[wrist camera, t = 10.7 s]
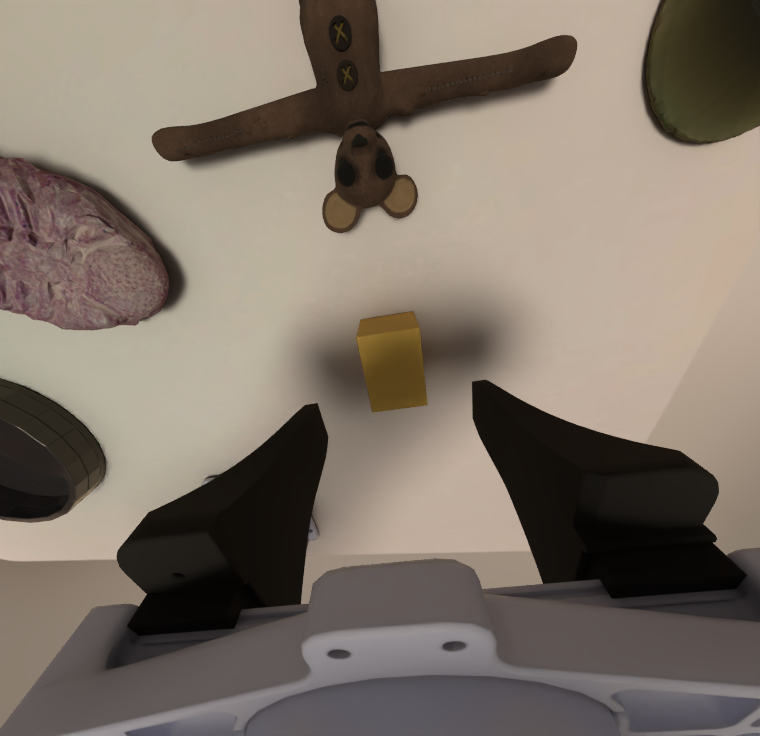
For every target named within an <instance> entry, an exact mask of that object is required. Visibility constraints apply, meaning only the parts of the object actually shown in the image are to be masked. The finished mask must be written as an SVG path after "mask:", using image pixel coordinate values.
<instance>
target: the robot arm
mask: <svg viewBox="0 0 760 736" xmlns="http://www.w3.org/2000/svg"><path fill="white" fill-rule="evenodd" d="M472 403H473V420H474V423H475V426H476V429H477V431H478V434H479V436H480V438H481V440H482V442H483V444H484V446H485V448H486V450H487V452H488V454H489V455H490V457H491V459H492V461H493V463H494V465H495V467H496V468H497V470H498V472H499V474H500V476H501V478H502V480H503V482H504V484H505V486H506V488H507V490H508V493H509V495H510V497H511V500H512V502H513V505H514V507H515V510H516V512H517V515H518V517H519V520H520V522H521V525H522V527H523V530H524V532H525V535H526V538H527V540H528V543H529V546H530V549H531V551H532V554H533V557H534V559H535V562H536V565H537V568H538V571H539V573H540V576H541V579H542V582H543V584H538V585H526V586H514V587H502V588H491V589H482V588H481V584H480V581H479V578H478V577H477V575H476V573H475V571H474V570H473V569H472V568H471V567H469V566H467V565H465V564H463V563H461V562H458V561H456V560H451V559H424V560H414V561H404V562H393V563H382V564H371V565H360V566H350V567H342V568H338V569H335V570H331V571H328V572H326V573H325V574H323V575H322V576H321V577H320V578H319V579H318V580H317V581H315V582H314V583H313V586H312V591H311V596H310V601H309V604H301V595H302V584H303V575H304V566H305V557H306V550H307V545H308V541H309V540H316V539H318V536H319V533H318V530H317V528H316V526H315V523H314V521H313V519H312V516H311V515H312V509H313V505H314V500H315V496H316V493H317V489H318V485H319V481H320V478H321V474H322V470H323V466H324V462H325V458H326V453H327V445H328V434H327V431H326V428H325V425H324V422H323V419H322V416H321V412H320V409H319V406H318V403H316V404H309V405H305V406H303V407H302V408H301V409H300V410H299V411H298V412H297V413H296V414H295V415H294V416H293V417H292V418H291V419H290V420H289V421H287V422H286V423H285V424H284V425H283V426H282V427H281V428H280V429H279V430H278V431H277V432H276V433H275V434H274V435H272V436H271V437H270V438H269V439H268V440H267V441H266V442H265V443H263V444H262V445H261V446H260V447H259V448H257V449H256V450H255V451H254V452H252V453H251V454H250V455H248V456H247V457H246V458H244V459H243V460H242V461H240V462H239V463H238V464H236V465H235V466H233V467H231V468H230V469H228V470H227V471H225V472H224V473H222V474H221V475H219V476H218V477H213V478H206V479H205V480H204V481H203V483H202V486H201V487H199V488H197V489H195V490H193V491H192V492H190V493H188V494H186V495H184V496H182V497H180V498H178V499H176V500H174V501H172V502H170V503H168V504H165V505H163V506H161V507H159V508H157V509H155V510H153V511H151V512H149V513H148V514H147V515H146V516H145V518H144V519H143V520H142V521H141V523H140V524H139V525H138V526H137V527H136V529H135V530H134V531H133V532H132V534H131V535H130V536H129V537H128V539H127V540H126V541H125V542H124V543H123V545H122V546H121V547H120V548H119V550H118V552H117V561H118V563H119V567H120V568H121V569H122V570H123V571H124V572H125V574H126V575H127V576H128V577H130V578H131V579H132V580H133V581H134V582H135V583H136V584H137V585H138V586H139V587H140V588H141V589H142V590H143V591H144V592H145V593H147V595H146V597H145V598H144V600H143V602H142V603H141V605H140V606H136V605H133V604H119V605H107V606H97V607H95V608H93V609H92V610H91V611H90V612H89V614H88V615H87V616H86V617H85V619H84V620H83V621H82V623H81V624H80V625H79V627H78V628H77V629H76V631H75V632H74V633H73V634H72V636H71V637H70V638H69V640H68V641H67V642H66V644H65V645H64V646H63V648H62V649H61V650H60V651H59V653H58V654H57V655H56V657H55V658H54V659H53V661H52V662H51V663H50V664H49V666H48V667H47V668H46V670H45V671H44V672H43V674H42V675H41V676H40V678H39V679H38V680H37V682H36V683H35V684H34V686H33V687H32V688H31V689H30V691H29V692H28V693H27V695H26V696H25V697H24V699H23V700H22V701H21V702H20V704H19V705H18V706H17V708H16V709H15V710H14V711H13V713H12V714H11V715H10V717H9V718H8V719H7V721H6V722H5V723H4V725H3V726H2V727H1V728H0V736H760V548H750V549H741V550H736V551H734V552H732V553H729V554H728V555H725V554H724V553H723V552H722V551H721V550H720V549H719V548H718V547H717V546H715V545H714V544H713V543H712V542H716V540H717V538H716V536H715V534H713V533H712V532H711V531H710V530H709V529H708V528H707V527H706V526H705V525H703V523H704V521H705V519H706V517H707V516H708V514H709V512H710V511H711V509H712V507H713V505H714V504H715V501H716V499H717V496H718V494H719V487H718V481H717V480H716V478H715V477H714V476H713V475H712V474H711V473H709V472H708V471H707V470H705V469H704V468H703V467H701V466H700V465H699V464H697V463H696V462H694V461H693V460H692V459H690V458H689V457H688V456H686V455H685V454H684V453H682V452H681V451H677V450H673V449H668V448H663V447H658V446H653V445H648V444H643V443H638V442H634V441H630V440H626V439H622V438H618V437H615V436H611V435H607V434H604V433H600V432H597V431H594V430H591V429H588V428H585V427H582V426H579V425H576V424H573V423H570V422H568V421H565V420H563V419H560V418H558V417H555V416H553V415H551V414H548V413H546V412H544V411H542V410H540V409H538V408H536V407H534V406H532V405H530V404H528V403H526V402H524V401H522V400H520V399H518V398H517V397H515V396H513V395H511V394H510V393H508V392H506V391H505V390H503V389H501V388H500V387H498V386H496V385H494V384H493V383H491V382H489V381H487V380H480V381H473V382H472Z"/></svg>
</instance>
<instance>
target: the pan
mask: <svg viewBox="0 0 760 736" xmlns="http://www.w3.org/2000/svg"><path fill="white" fill-rule="evenodd" d="M104 473H105V460H104V456H103V453H102V451H101V448H100V447H99V445H98V443H97V441H96V440H95V439H94V437H93V436H92V435H91V433H90V432H89V431H88V430H87V429H86V428H85V427H84V426H83V425H82V424H81V423H80V422H79V421H78V420H77V419H76V418H75V417H74V416H72V415H71V414H70V413H68V412H67V411H66V410H65V409H63V408H62V407H60V406H59V405H57V404H56V403H54V402H52V401H51V400H49V399H47V398H45V397H44V396H42V395H40V394H38V393H36V392H34V391H31V390H29V389H27V388H24V387H22V386H19V385H17V384H14V383H11V382H7V381H4V380H0V519H2V520H7V521H18V522H29V523H32V522H41V521H50V520H53V519H56V518H58V517H60V516H62V515H64V514H67V513H68V512H69V511H70V510H72V509H73V508H74V507H75V506H76V505H77V504H78V503H79V502H80V501H82V500H83V499H84V498H85V497H86V496H87V495H88V494H89V493H90V492H91V491H92V490H93V489H94V488H95V487H96V486H97V485H98V484H99V483H100V482H101V480H102V478H103V476H104Z"/></svg>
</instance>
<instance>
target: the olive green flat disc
mask: <svg viewBox="0 0 760 736" xmlns="http://www.w3.org/2000/svg"><path fill="white" fill-rule="evenodd" d="M646 80H647V89H648V92H649V97H650V99H651V106H652V109H653V112H654V113H655V114H656V116H657V117H659V118H658V120H659V121H660V122H661V124H662V127H663V128H664V129H665V130H666V131H668V132H672V133H673V134H674V136H676V137H678V138H681V139H682V140H685V141H692V142H697V143H701V144H703V143H712V142H719V141H724V140H727V139H730V138H732V137H736V136H739V135H741V134H743V133H745V132H747V131H749V130H752V129H754V128H756V127H758V126H760V0H663V2H662V6H661V8H660V11H659V13H658V15H657V18H656V22H655V25H654V28H653V30H652V34H651V39H650V43H649V50H648V58H647V66H646Z"/></svg>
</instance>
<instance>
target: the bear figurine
mask: <svg viewBox="0 0 760 736" xmlns="http://www.w3.org/2000/svg"><path fill="white" fill-rule="evenodd" d="M299 4H300V25H301V30H302V34H303V38H304V43H305V46H306V49H307V52H308V55H309V58H310V61H311V64H312V68H313V71H314V75H315V78H316V83H317V86H316V88H314V89H311V90H307V91H304V92H301V93H298V94H295V95H291V96H288V97H285V98H282V99H279V100H276V101H273V102H270V103H267V104H264V105H261V106H258V107H255V108H252V109H249V110H245V111H242V112H239V113H236V114H233V115H230V116H227V117H224V118H221V119H217V120H214V121H210V122H206V123H202V124H197V125H191V126H176V127H167V128H162V129H160V130H158V131H156V132H155V133H154V134H153V136H152V143H153V146H154V148H155V149H156V151H157V152H158V153H159V155H160V156H162V157H163V158H164V159H166V160H168V161H181V160H186V159H191V158H195V157H201V156H206V155H210V154H214V153H217V152H221V151H224V150H229V149H235V148H240V147H244V146H247V145H251V144H255V143H260V142H265V141H270V140H275V139H281V138H288V139H293V138H295V137H297V136H300V135H302V134H306V133H310V132H315V131H320V130H324V131H328V132H331V133H334V134H338V135H342V136H343V138H342V142H341V143H340V145H339V148H338V151H337V155H336V162H335V183H336V187H335V189H334V190H333V191H331V192H330V193H328V194H327V195H326V197H325V199H324V203H323V209H322V214H323V219H324V222H325V224H326V226H327V227H328V228H329V229H330V230H332V231H334V232H337V233H343V232H347V231H349V230H350V229H352V228H353V227H354V225H355V224H356V222H357V221H358V218H359V216H360V213H361V211H362V209H363V208H369V207H374V206H377V205H380V206H381V207H382V208H383V209H384V210H385V211H386V212H387V213H388V214H389V215H390V216H392V217H394V218H403V217H405V216H407V215H409V214H410V213H411V212H412V211H413V210H414V208H415V206H416V203H417V198H418V193H417V188H416V185H415V183H414V181H413V180H412V178H411V177H409V176H408V175H397V173H396V169H395V163H394V158H393V155H392V152H391V149H390V147H389V145H388V143H387V142H386V140H385V139H384V138H383V137H382V136H381V135H380V134H379V133H378V132H376V131H375V130H374V129H373V128H375V127H376V126H377V125H378V124H380V123H381V122H382V121H383V120H384V119H385V118H387V117H388V116H390V115H392V114H397V115H401V116H410V115H412V114H414V110H417V109H421V108H424V107H427V106H430V105H434V104H437V103H441V102H445V101H449V100H454V99H458V98H463V97H468V96H485V95H488V94H489V92H492V91H498V90H506V89H510V88H514V87H518V86H522V85H525V84H529V83H533V82H537V81H542V80H546V79H550V78H554V77H557V76H559V75H561V74H563V73H564V72H565V71H567V70H568V69H569V67H570V66H571V64H572V62H573V60H574V58H575V55H576V51H577V41H576V39H575V38H574V37H572V36H569V35H560V36H556V37H553V38H550V39H547V40H544V41H542V42H539V43H537V44H534V45H532V46H529V47H526V48H523V49H519V50H516V51H512V52H508V53H503V54H498V55H492V56H486V57H480V58H473V59H466V60H459V61H453V62H446V63H439V64H432V65H425V66H419V67H412V68H405V69H398V70H392V71H386V72H381V71H380V64H379V33H378V13H377V6H376V1H375V0H299Z"/></svg>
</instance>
